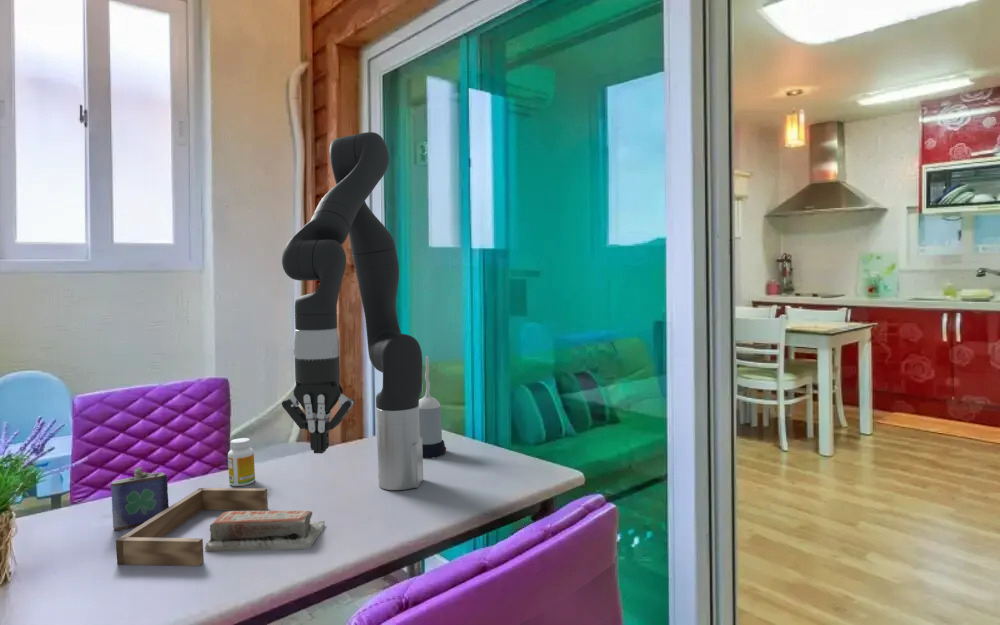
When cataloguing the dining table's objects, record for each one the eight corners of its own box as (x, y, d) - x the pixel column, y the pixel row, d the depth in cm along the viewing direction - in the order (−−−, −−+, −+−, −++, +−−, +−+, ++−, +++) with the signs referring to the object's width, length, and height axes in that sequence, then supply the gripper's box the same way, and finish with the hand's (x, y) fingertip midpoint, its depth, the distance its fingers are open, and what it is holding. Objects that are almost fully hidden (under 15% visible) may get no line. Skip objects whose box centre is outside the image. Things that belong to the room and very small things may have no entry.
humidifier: (451, 452, 161) (449, 355, 159) (427, 460, 155) (425, 359, 153) (430, 447, 166) (427, 353, 165) (406, 454, 160) (403, 357, 158)
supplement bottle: (259, 478, 143) (257, 437, 143) (247, 487, 138) (245, 443, 137) (237, 478, 144) (234, 436, 143) (224, 486, 138) (222, 443, 138)
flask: (113, 532, 115) (109, 474, 114) (113, 526, 117) (110, 470, 117) (170, 521, 120) (167, 465, 119) (169, 516, 122) (166, 461, 122)
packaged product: (201, 526, 106) (226, 504, 116) (203, 554, 106) (227, 530, 116) (309, 524, 106) (324, 502, 116) (310, 551, 106) (325, 527, 116)
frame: (267, 508, 125) (266, 488, 125) (199, 565, 101) (198, 541, 100) (200, 507, 126) (199, 488, 126) (117, 564, 102) (115, 540, 102)
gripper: (360, 352, 113) (363, 447, 114) (289, 351, 114) (292, 446, 115) (346, 357, 105) (349, 459, 106) (271, 357, 106) (274, 457, 107)
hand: (319, 452), depth 111 cm, fingers closed
